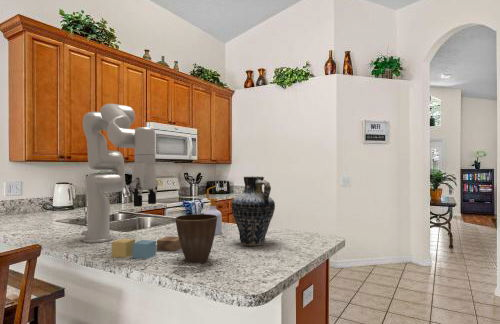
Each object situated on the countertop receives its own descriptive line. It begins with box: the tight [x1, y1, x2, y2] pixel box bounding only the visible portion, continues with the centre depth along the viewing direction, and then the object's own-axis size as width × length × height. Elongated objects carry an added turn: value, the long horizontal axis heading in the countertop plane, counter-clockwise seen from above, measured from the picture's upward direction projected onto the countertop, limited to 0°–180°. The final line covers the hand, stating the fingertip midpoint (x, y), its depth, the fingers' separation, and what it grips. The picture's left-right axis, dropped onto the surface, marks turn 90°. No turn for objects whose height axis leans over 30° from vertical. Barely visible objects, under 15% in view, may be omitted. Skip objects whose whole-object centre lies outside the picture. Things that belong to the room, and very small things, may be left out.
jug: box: [230, 175, 276, 246], centre depth 143 cm, size 21×19×30 cm
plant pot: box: [174, 213, 217, 265], centre depth 116 cm, size 15×15×16 cm
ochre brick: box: [111, 238, 136, 258], centre depth 123 cm, size 6×6×6 cm
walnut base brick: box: [156, 235, 181, 251], centre depth 132 cm, size 8×8×4 cm
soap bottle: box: [204, 185, 223, 236], centre depth 166 cm, size 9×9×25 cm
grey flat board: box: [156, 244, 183, 254], centre depth 132 cm, size 18×12×1 cm, turn 76°
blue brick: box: [132, 239, 157, 260], centre depth 121 cm, size 6×6×6 cm
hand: (145, 205), depth 122 cm, fingers open, 9 cm apart
